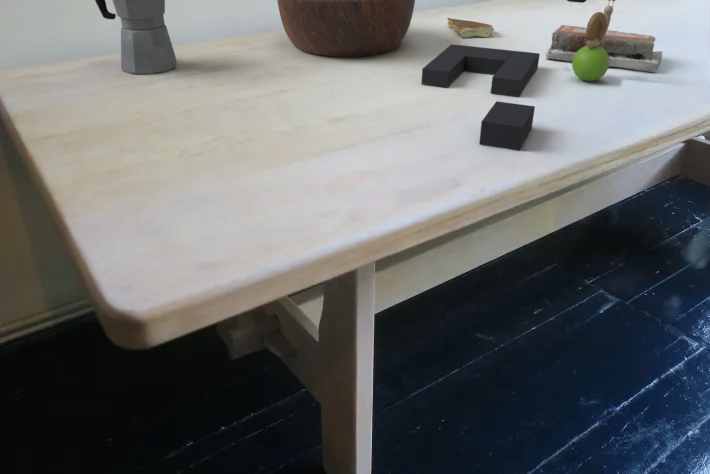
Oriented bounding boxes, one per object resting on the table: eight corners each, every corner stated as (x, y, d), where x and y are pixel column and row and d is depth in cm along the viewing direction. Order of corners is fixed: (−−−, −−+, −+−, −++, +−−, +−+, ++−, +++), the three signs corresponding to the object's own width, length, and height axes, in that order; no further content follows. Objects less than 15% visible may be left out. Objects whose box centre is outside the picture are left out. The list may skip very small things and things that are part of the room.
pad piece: (531, 128, 86) (535, 106, 85) (519, 150, 80) (523, 127, 78) (493, 122, 88) (496, 101, 86) (479, 144, 82) (481, 121, 80)
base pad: (537, 68, 110) (539, 53, 109) (518, 97, 97) (521, 80, 96) (450, 58, 115) (451, 44, 114) (421, 84, 102) (422, 68, 101)
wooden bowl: (441, 48, 121) (445, -11, 115) (325, 70, 108) (323, 5, 103) (363, 22, 138) (363, -30, 133) (255, 39, 126) (251, -18, 121)
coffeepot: (198, 61, 113) (185, -53, 104) (173, 77, 105) (156, -45, 96) (117, 55, 116) (96, -56, 107) (86, 71, 108) (61, -49, 99)
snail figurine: (614, 78, 105) (630, -1, 99) (595, 87, 101) (611, 6, 95) (582, 71, 108) (596, -6, 102) (563, 80, 104) (576, 0, 98)
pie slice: (446, 25, 137) (447, 16, 136) (483, 24, 137) (483, 15, 136) (459, 38, 127) (460, 28, 126) (498, 37, 128) (499, 27, 127)
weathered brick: (548, 31, 112) (561, 19, 120) (544, 60, 114) (557, 46, 122) (662, 43, 105) (668, 30, 112) (655, 73, 107) (661, 59, 115)
